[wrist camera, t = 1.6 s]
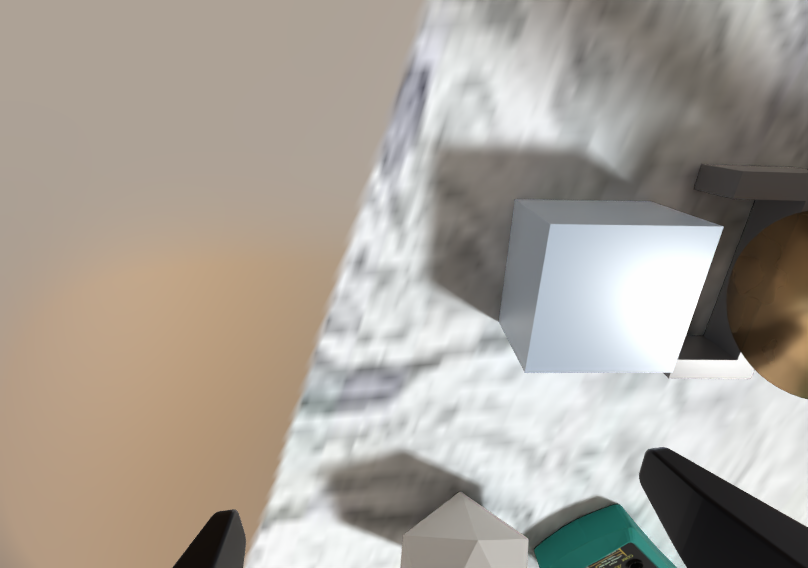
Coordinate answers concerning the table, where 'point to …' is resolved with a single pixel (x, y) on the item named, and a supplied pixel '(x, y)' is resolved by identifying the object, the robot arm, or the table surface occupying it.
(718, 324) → the clip bracket
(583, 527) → the digital multimeter
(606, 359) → the blue-gray block
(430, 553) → the die
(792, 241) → the cylinder
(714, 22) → the table surface
